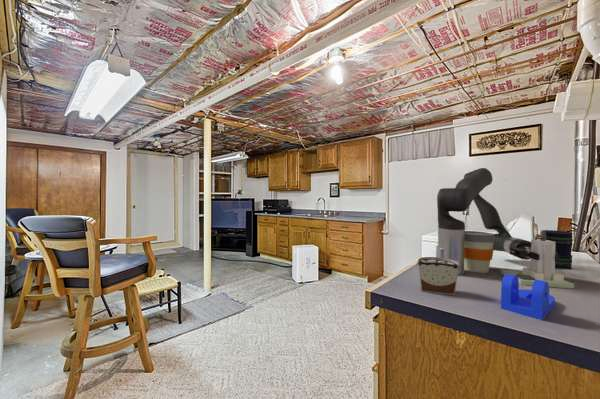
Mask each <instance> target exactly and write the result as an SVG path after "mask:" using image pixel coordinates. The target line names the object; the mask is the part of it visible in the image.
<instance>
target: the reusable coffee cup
mask: <svg viewBox="0 0 600 399" xmlns="http://www.w3.org/2000/svg"><path fill="white" fill-rule="evenodd" d="M494 234H495V233H492V232H487V231H476V230H465V251H464V271H469V272H472V273H482V274H483V273H485V274H486V273H489V270H490V266H491V261H492V260H493V256H494V251H495V250H494V248H493V243H494V242H495V239H494Z"/></svg>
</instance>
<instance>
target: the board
mask: <svg viewBox="0 0 600 399" xmlns="http://www.w3.org/2000/svg"><path fill="white" fill-rule="evenodd" d="M500 271H501V272H500V273H501V275H503V276H504V275H505V274H511V275H516V276H517V277H518V281H519V285H521V286H531V287H532V286H533V283H534V281H535V280H541V281H546V282H548V285H549V288H560V289H562V288H563V289H572V290H573V289H575V283H572V282H570V281H567V280H566V279H565V278H564V277H565V276H564V274H560V273H558V272H556V271H555V274H552V279H551V280H546V279H544V274H542V273H535V272H533V271H531V267H528V268H527V267H523V268H522V270H511V269H510V270H509V269H501V270H500Z"/></svg>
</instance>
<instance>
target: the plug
mask: <svg viewBox="0 0 600 399" xmlns="http://www.w3.org/2000/svg"><path fill="white" fill-rule="evenodd" d="M541 231H542V230H541ZM541 231H540V237H539V238H540V239H530V242H531V252H534V253H537V254H539V255H540V258H539V260H534V259H532V258H531V259H530V268H531V271H533V272H535V273H542V274H544V279H546V280H551V279H552V274H555V272H556V271H555V270H556V268H555V242H553V241H549V240H546V232H544V231H542V232H541Z"/></svg>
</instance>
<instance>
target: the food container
mask: <svg viewBox="0 0 600 399" xmlns="http://www.w3.org/2000/svg"><path fill="white" fill-rule="evenodd" d="M416 266H418V270H419V272H418V273H419V279H420V280H419V281H420V289H421V292H427V293H433V294H443V295H452V296H455V295H456V288H457V281H458V269H460V270H461V268H460V265H459V263H458V262H457V261H454V260H450V259H446V258H439V257H436V256H424V257H419V258H418V260H417V263H416Z"/></svg>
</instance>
